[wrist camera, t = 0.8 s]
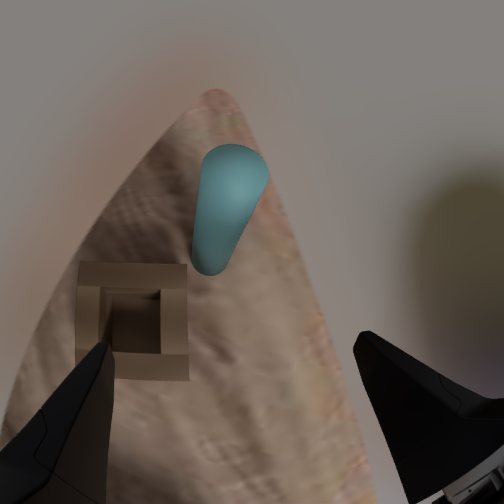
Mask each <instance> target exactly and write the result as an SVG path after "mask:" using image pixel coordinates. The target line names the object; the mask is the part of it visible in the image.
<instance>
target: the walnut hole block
mask: <svg viewBox="0 0 504 504" xmlns="http://www.w3.org/2000/svg"><path fill="white" fill-rule="evenodd" d="M98 342H104V343H109V344H110V346H111V349H112V352H113V356H114V359H115V377H114V378H120V379H135V380H157V381H190V380H189V360H188V331H187V264H159V263H122V262H90V261H80V266H79V276H78V286H77V299H76V319H75V367H76V366H77V365H78V364H79V362H80V361H81V360H82V359H83V358H84V357H85V356H86V355H87V353H88V352H89V351H90V350H91V349H92V348H93V347H94V346H95V345H96V344H97V343H98Z"/></svg>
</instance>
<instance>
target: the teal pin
mask: <svg viewBox="0 0 504 504" xmlns="http://www.w3.org/2000/svg"><path fill="white" fill-rule="evenodd" d="M268 178H269V171H268V167H267V165H266V163H265V161H264V160H263V158H262V157H261V156H260V155H259V154H258V153H256V152H255V151H254V150H252V149H250V148H248V147H245V146H242V145H237V144H226V145H221V146H218V147H216V148H214V149H212V150H211V151H210V152H209V153H208V154H207V155H206V156H205V158H204V160H203V162H202V168H201V175H200V182H199V190H198V198H197V207H196V215H195V224H194V234H193V244H192V254H191V261H192V264H193V266H194V268H195V269H196V270H197V271H198V272H199V273H201V274H203V275H207V276H213V275H217V274H219V273H220V272H222V271H223V270H224V269H225V267H226V265H227V263H228V261H229V259H230V257H231V255H232V253H233V251H234V249H235V247H236V245H237V243H238V241H239V239H240V236H241V234H242V232H243V230H244V228H245V226H246V224H247V222H248V220H249V218H250V216H251V214H252V212H253V210H254V208H255V206H256V204H257V202H258V200H259V198H260V196H261V194H262V192H263V190H264V188H265V186H266V184H267V182H268Z"/></svg>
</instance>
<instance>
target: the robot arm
mask: <svg viewBox="0 0 504 504" xmlns="http://www.w3.org/2000/svg"><path fill="white" fill-rule="evenodd" d="M353 353H354V356H355V359H356V362H357V366H358V369H359V372H360V376H361V379H362V382H363V385H364V387H365V390H366V392H367V395H368V397H369V399H370V402H371V404H372V406H373V409H374V412H375V414H376V416H377V419H378V421H379V424H380V426H381V429H382V432H383V434H384V437H385V439H386V442H387V444H388V447H389V449H390V452H391V455H392V457H393V460H394V463H395V466H396V469H397V471H398V474H399V477H400V480H401V483H402V485H403V488H404V491H405V494H406V497H407V500H408V503H409V504H417V503H418V502H420V501H422V500H424V499H426V498H428V497H430V496H431V495H433V494H435V493H437V492H438V491H440V490H442V491H443V493H444V495H442V496H441V497H439V498H438V499H437V500H435V501H433V502H432V504H504V398H498V399H490V398H485V397H483V396H481V395H479V394H477V393H475V392H473V391H471V390H469V389H467V388H464V387H462V386H461V385H459V384H457V383H455V382H453V381H452V380H450V379H448V378H446V377H445V376H443V375H442V374H440V373H438V372H437V371H435V370H433V369H432V368H430V367H428V366H427V365H425V364H424V363H422V362H420V361H419V360H417V359H415V358H414V357H412V356H411V355H409V354H407V353H405V352H404V351H402V350H401V349H399V348H398V347H396V346H394V345H393V344H391V343H389V342H388V341H386V340H385V339H383V338H381V337H380V336H378V335H377V334H375V333H373V332H371V331H363V332H361V333H359V335H358V338H357V340H356V342H355V344H354V347H353ZM114 377H115V359H114V356H113V352H112V349H111V346H110V344H109V343H104V342H98V343H97V344H96V345H95V346H94V347H93V348H92V349H91V350H90V351H89V352H88V353H87V355H86V356H85V357H84V358H83V359H82V360H81V361H80V362H79V364H78V365H77V366H76V367H75V368H74V369H73V370H72V372H71V373H70V374H69V375H68V376H67V377H66V378H65V380H64V381H63V382H62V383H61V384H60V385H59V387H58V388H57V389H56V390H55V391H54V392H53V394H52V395H51V396H50V397H49V398H48V400H47V401H46V402H45V403H44V404H43V406H42V407H41V409H39V410H38V412H37V413H36V414H35V415H34V416H33V418H32V419H31V420H30V421H29V422H28V423H27V425H26V426H25V427H24V428H23V429H22V430H21V431H20V432H19V433H18V434H17V435H16V436H15V437H14V438H13V439H12V440H11V441H10V442H9V443H8V444H7V445H6V446H5V447H4V448H3V449H2V450H1V451H0V504H106V477H107V461H108V449H109V438H110V429H111V421H112V413H113V404H114Z"/></svg>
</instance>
